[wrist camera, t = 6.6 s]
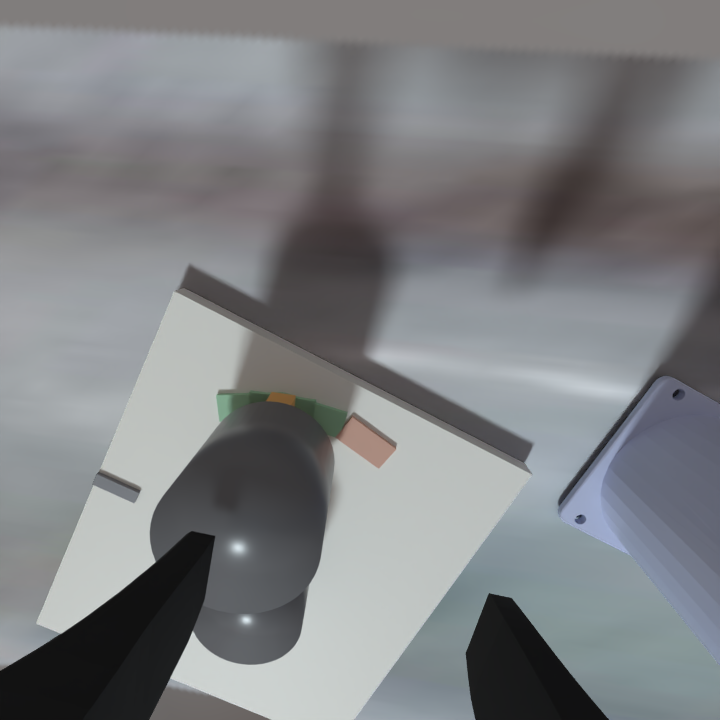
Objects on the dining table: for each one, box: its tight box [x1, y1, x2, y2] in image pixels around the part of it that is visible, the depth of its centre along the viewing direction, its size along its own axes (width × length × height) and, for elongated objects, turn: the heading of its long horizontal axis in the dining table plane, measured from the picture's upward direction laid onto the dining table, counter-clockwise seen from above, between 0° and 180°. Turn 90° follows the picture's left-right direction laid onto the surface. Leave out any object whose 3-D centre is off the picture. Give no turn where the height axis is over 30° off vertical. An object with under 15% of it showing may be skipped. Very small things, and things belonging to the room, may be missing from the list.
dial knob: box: [150, 392, 335, 665], centre depth 17 cm, size 11×5×6 cm, turn 171°
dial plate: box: [36, 288, 532, 720], centre depth 22 cm, size 17×19×1 cm
